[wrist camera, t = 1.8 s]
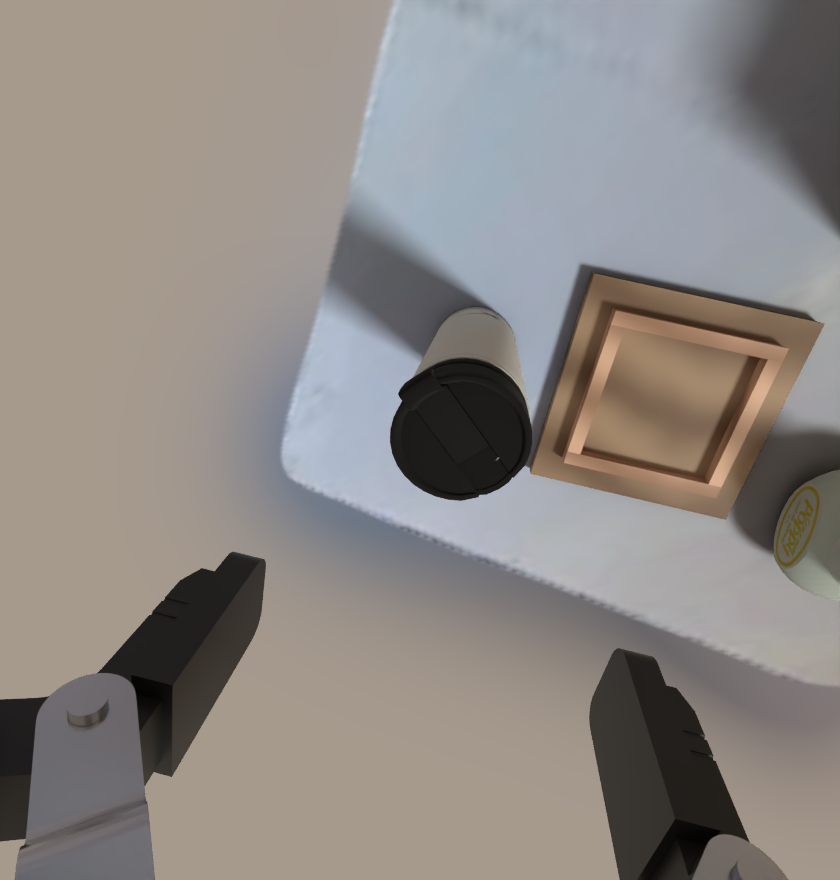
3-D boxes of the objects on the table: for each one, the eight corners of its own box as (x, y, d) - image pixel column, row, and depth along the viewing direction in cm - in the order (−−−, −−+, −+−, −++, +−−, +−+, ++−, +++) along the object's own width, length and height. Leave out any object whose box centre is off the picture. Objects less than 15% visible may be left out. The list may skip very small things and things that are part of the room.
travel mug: (484, 285, 39) (476, 337, 20) (531, 358, 40) (563, 468, 22) (416, 333, 41) (353, 420, 22) (463, 400, 42) (440, 534, 24)
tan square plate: (591, 272, 37) (596, 274, 35) (816, 321, 37) (833, 326, 35) (529, 468, 44) (531, 479, 42) (720, 513, 43) (730, 526, 41)
